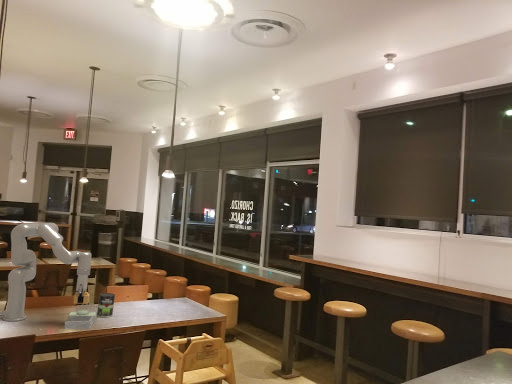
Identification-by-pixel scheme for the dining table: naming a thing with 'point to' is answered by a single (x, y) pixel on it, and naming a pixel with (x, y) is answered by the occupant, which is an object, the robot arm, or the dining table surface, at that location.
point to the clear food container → (83, 314)
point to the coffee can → (105, 305)
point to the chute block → (85, 300)
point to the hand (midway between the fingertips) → (81, 301)
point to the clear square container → (79, 322)
